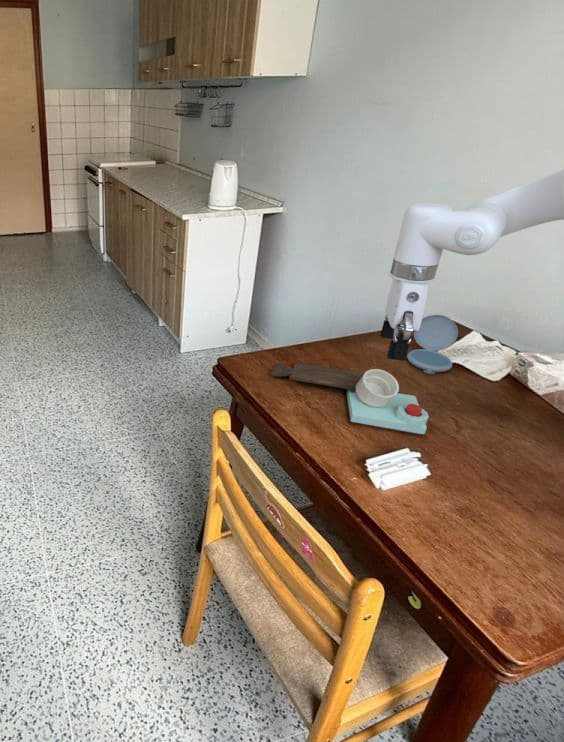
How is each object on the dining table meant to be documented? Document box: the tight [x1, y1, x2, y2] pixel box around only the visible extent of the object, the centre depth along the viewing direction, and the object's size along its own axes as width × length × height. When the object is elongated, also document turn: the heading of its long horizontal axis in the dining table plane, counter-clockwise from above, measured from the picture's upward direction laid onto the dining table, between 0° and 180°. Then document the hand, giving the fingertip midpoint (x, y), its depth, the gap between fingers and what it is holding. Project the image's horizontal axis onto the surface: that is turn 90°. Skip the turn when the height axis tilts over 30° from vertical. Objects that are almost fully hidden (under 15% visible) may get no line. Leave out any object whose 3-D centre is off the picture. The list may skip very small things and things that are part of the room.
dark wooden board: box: [270, 362, 365, 390], centre depth 114 cm, size 26×2×10 cm
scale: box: [346, 389, 430, 435], centre depth 104 cm, size 14×12×4 cm
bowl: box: [356, 368, 400, 407], centre depth 103 cm, size 7×7×5 cm
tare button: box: [406, 404, 423, 417], centre depth 99 cm, size 3×3×2 cm
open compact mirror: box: [406, 314, 459, 375], centre depth 120 cm, size 10×11×15 cm
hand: (391, 348), depth 99 cm, fingers open, 9 cm apart
